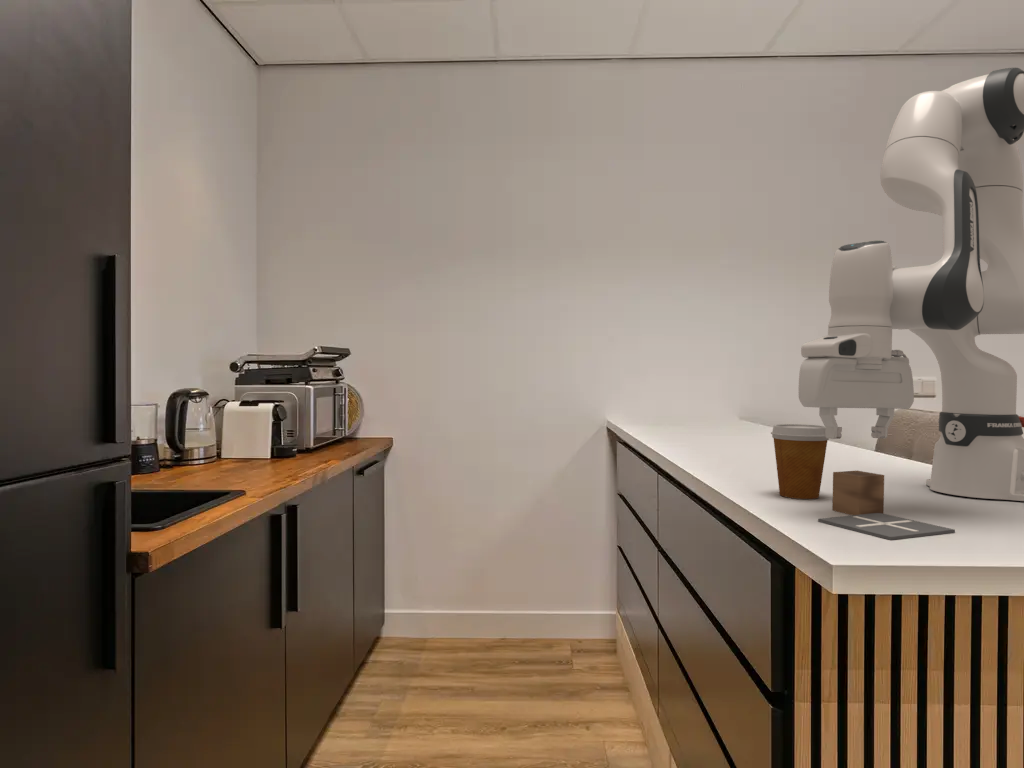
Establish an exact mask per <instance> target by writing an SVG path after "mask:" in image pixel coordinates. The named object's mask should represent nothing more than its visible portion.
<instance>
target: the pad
mask: <svg viewBox="0 0 1024 768" xmlns="http://www.w3.org/2000/svg"><path fill="white" fill-rule="evenodd" d="M817 522H818V523H823V524H827V525H831V526H834V527H838V528H841V529H842V528H843V529H846V530H851V531H854V532H858V533H862V534H866V535H870V536H872V537H873V536H874V537H876V538H882V539H884V540H889V541H896V540H903V539H911V538H912V539H913V538H919V537H920V538H921V537H928V536H936V535H944V534H945V535H946V534H954V533H956V529H954V528H950V527H945V526H941V525H935V524H932V523H927V522H923V521H918V520H914V519H909V518H905V517H901V516H897V515H896V516H895V515H892V514H891V515H890V514H887V513H884V514H883V513H871V514H861V515H843V516H842V515H841V516H840V515H839V516H832V517H820V518H818V519H817Z"/></svg>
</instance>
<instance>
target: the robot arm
mask: <svg viewBox="0 0 1024 768" xmlns="http://www.w3.org/2000/svg"><path fill="white" fill-rule="evenodd" d="M1023 135H1024V70H1023V69H1021V68H1020V67H1007V68H1000V69H995V70H992V71H990V72H989V73H987V74H984V75H980V76H976V77H972V78H969V79H966V80H963V81H960V82H958V83H955V84H952V85H951V86H949V87H947V88H945V89H942V90H941V91H940V90H928V91H922V92H920V93H917V94H915V95H913V96H911V97H910V98H909V99H907V100H906V101H905V102H904V104H902V106H901V108H900V110H899V111H898V114H897V116H896V118H895V120H894V122H893V125H892V127H891V130H890V133H889V136H888V138H887V142H886V146H885V150H884V153H883V157H882V162H881V167H880V184H881V187H882V190H883V191H884V193H885V194H886V196H887V197H888V198H890V200H892V201H893V202H895V204H896V203H897V205H899V206H902V207H904V208H906V209H909V210H912V211H917V212H925V213H930V214H935V215H938V216H941V217H942V256H941V258H940V259H938V260H937V261H935V262H934V263H932V264H927V265H918V266H910V267H897V266H896V265H895V264H893V260H892V259H893V258H892V257H893V256H892V251H891V246H890V243H889V242H887V241H884V240H870V241H864V242H856V243H850V244H849V243H848V244H844V245H842V246H840V247H839V248H837V249H836V250H835V252H834V256H833V258H832V262H831V269H830V277H829V290H828V303H829V307H830V310H831V311H830V314H831V315H830V319H829V322H828V325H827V326H828V327H827V335H825V336H822V337H819V338H816V339H814V340H811V341H808V342H805V343H803V344H802V345H801V347H800V348H801V350H800V352H801V353H800V354H801V357H802V358H805V359H804V360H803V361H802V362H801V364H800V367H799V376H798V400H799V402H800V403H801V405H802V406H803V407H804V408H819V412H818V413H819V417H820V419H821V421H822V424H823V426H825V437H826V438H829V440H830V439H831V440H835V439H836V440H837V439H841V438H842V434H843V433H842V432H843V430H842V429H843V428H842V426H838V423H837V420H836V417H835V416H838V409H876V411H875V412H876V413H875V415H876V416H878V417H877V420H876V422H875V425H874V426H871V427H870V428H871V430H870V431H871V435H870V436H871V438H873V439H887V438H888V436H889V427H890V425H891V423H892V421H893V420H894V417H895V409H898V410H900V409H901V410H905V409H906V410H909V409H911V407H912V405H913V404H914V401H915V390H914V378H913V371H912V368H911V365H910V359H909V358H908V357H907V355H906V354H905V353H904V351H903V350H900V349H892V348H893V330H909V331H910V332H912V333H914V334H915V335H916V336H918V338H920V339H921V340H922V341H923V342H924V343H925V344H926V345H927V346H928V347H929V348H930V350H931V351H932V353H933V354H934V356H935V359H936V361H937V363H938V366H939V371H940V379H941V392H942V393H941V394H942V395H941V399H942V400H941V401H942V402H941V406H942V407H941V411H940V412H939V416H938V420H937V422H938V431H939V432H940V436H939V439H938V440H937V441H936V442H935V444H934V450H933V457H932V464H931V473H930V478H927V479H926V480H925V485H926V486H928V487H929V490H931V491H935V492H936V493H937V492H938V493H943V494H947V495H953V496H959V497H967V498H975V499H976V498H977V499H987V500H988V499H990V500H1006V501H1018V502H1019V501H1020V502H1024V437H1023V436H1022V435H1024V432H1023V428H1024V416H1021V415H1020V416H1019V415H1018V414H1017V392H1018V389H1017V387H1018V374H1017V372H1016V369H1015V368H1014V366H1012V364H1010V363H1009V362H1008V361H1006V360H1004V359H1002V358H1000V357H998V356H996V355H994V354H991V353H989V352H986V351H985V350H982V349H980V348H979V347H978V345H977V343H976V339H975V338H976V337H977V336H981V335H1023V334H1024V221H1023V220H1024V219H1023V196H1024V195H1023V193H1024V192H1023V191H1024V187H1023V185H1024V181H1023V178H1024V177H1023V168H1022V160H1021V156H1020V151H1019V146H1018V144H1017V142H1018V141H1019V140H1020V139H1021V138H1022V137H1023ZM981 260H982V261H983V262H985V263H986V264H987V269H986V270H984V271H982V269H981Z"/></svg>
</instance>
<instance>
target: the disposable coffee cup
mask: <svg viewBox="0 0 1024 768" xmlns="http://www.w3.org/2000/svg"><path fill="white" fill-rule="evenodd" d="M770 434H771V435H772V436H771V437H772V438H773V445H774V446H773V447H774V454H775V464H776V472H777V482H778V490H779V495H780V496H781V497H784V498H789V499H797V500H815V499H818V498H820V493H821V486H822V479H823V472H824V467H825V466H824V465H825V459H826V453H827V447H828V446H827V445H828V441H829V440H830V439H829V438H826V437H825V426H824V425H818V424H817V425H816V424H814V425H813V424H798V423H797V424H796V423H795V424H794V423H793V424H792V423H790V424H789V423H785V424H783V423H782V424H780V423H779V424H774V425H773V428H772V431H770Z"/></svg>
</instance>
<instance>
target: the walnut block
mask: <svg viewBox="0 0 1024 768" xmlns="http://www.w3.org/2000/svg"><path fill="white" fill-rule="evenodd" d="M884 499H885V475H884V474H881V473H875V472H874V473H873V472H867V471H862V470H847V471H833V473H832V509H831V510H832V511H834V512H838V513H842V514H846V515H848V516H850V515H861V514H871V513H883V514H885V512H884V509H885V507H884V504H885V501H884Z"/></svg>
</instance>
